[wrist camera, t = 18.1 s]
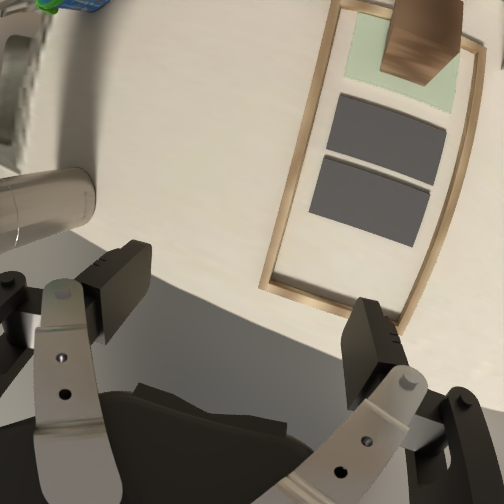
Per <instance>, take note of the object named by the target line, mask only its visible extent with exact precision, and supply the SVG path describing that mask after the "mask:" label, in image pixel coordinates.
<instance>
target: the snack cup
mask: <svg viewBox="0 0 504 504" xmlns="http://www.w3.org/2000/svg"><path fill="white" fill-rule="evenodd" d="M108 1H109V0H36V6H37V8H39V9H40V10H42V11H44V12H46V13H48V14H52V15H54V14H56V13H57V12H58V8H64V9H71V10H79V11H86V12H93V11H95V10H98V9H99V8H101V7H102V6H103V5H104V4H106V3H107V2H108Z"/></svg>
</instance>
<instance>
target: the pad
mask: <svg viewBox="0 0 504 504" xmlns="http://www.w3.org/2000/svg"><path fill="white" fill-rule="evenodd" d="M389 24H390V21H389V20H385V19H382V18H378V17H375V16H371V15H367V14H363V13H359V12H358V15H357V20H356V25H355V30H354V34H353V39H352V43H351V48H350V53H349V57H348V61H347V66H346V70H345V74H344V77H345V78H349V79H352V80H356V81H359V82H363V83H366V84H370V85H373V86H376V87H379V88H382V89H385V90H388V91H391V92H394V93H397V94H400V95H403V96H406V97H408V98H411V99H414V100H416V101H419V102H422V103H424V104H427V105H429V106H432V107H434V108H437V109H439V110H441V111H444V112H446V113H448V114H451V110H452V105H453V99H454V93H455V87H456V81H457V74H458V67H459V59H460V53H458V54H457V55H456V56H455V57H454V58H453V59H452V60H451V61H450V62H449V63H448V64H447V65H446V66H445V67H444V68H443V69H442V70H441V71H440V72H439V73H438V74H437V75H436V76H435V77H434V78H433V79H432V80H431V81H430V82H429V83H428V84H427V85H426V86H425V87H423V86H420V85H418V84H415V83H413V82H410V81H407V80H404V79H402V78H399V77H396V76H393V75H390V74H387V73H384V72H381V71H380V67H381V62H382V57H383V52H384V47H385V42H386V37H387V32H388V28H389ZM460 50H461V48H460Z"/></svg>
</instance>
